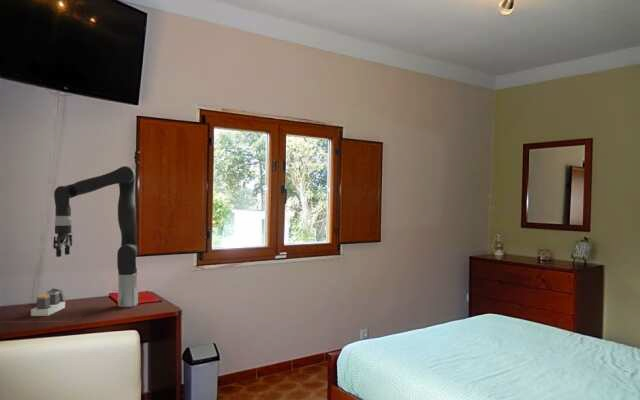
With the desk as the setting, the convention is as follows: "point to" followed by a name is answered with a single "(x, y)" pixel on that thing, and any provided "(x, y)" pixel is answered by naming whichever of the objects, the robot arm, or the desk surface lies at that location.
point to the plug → (43, 302)
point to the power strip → (47, 310)
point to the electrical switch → (61, 296)
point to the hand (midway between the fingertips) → (63, 255)
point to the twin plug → (54, 297)
